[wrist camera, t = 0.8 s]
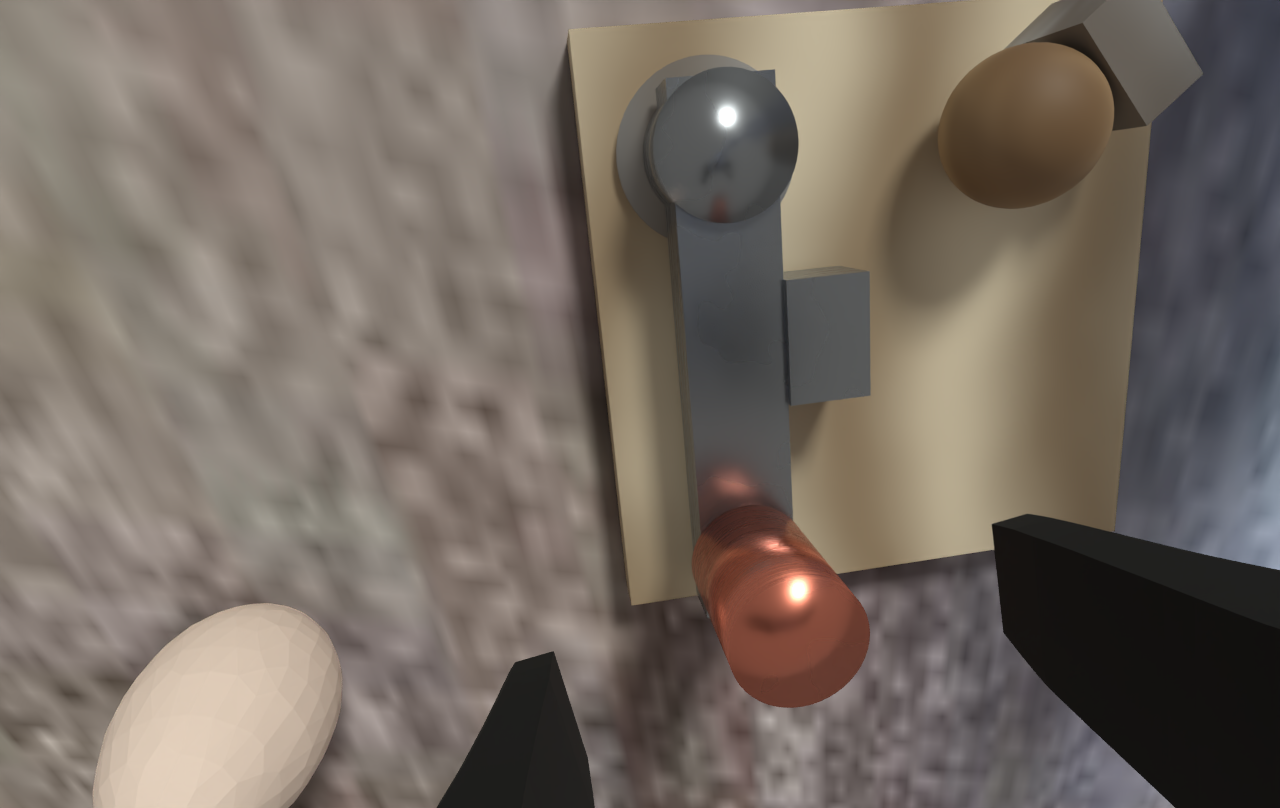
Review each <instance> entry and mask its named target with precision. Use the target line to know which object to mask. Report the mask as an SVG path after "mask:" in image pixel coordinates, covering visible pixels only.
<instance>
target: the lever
mask: <svg viewBox="0 0 1280 808" xmlns="http://www.w3.org/2000/svg"><path fill="white" fill-rule="evenodd" d="M655 90H656V102H657V110H656V111H655V113H654V114H653V116H652V118H651V120H650V122H649V124H648V127H647V130H646V133H645V138H644V144H643V162H644V169H645V172H646V176H647V179H648V181H649V183H650V186H651V188H652V189H653V191H654V193H655V194H656V196H657V197H658V198H659V199H660V201H661V202H662V203H663V204H664V205H665V213H666V225H667V237H668V250H669V262H670V274H671V287H672V299H673V311H674V323H675V336H676V348H677V360H678V373H679V385H680V397H681V409H682V422H683V434H684V446H685V459H686V471H687V483H688V495H689V508H690V520H691V532H692V545H693V555H692V573H693V577H694V580H695V583H696V592H697V594H698V597H699V599H700V601H701V604H702V606H703V609H704V611H705V614H706V616H707V618H710V619H711V622H712V624H713V626H714V629H715V631H716V634H717V636H718V638H719V641H720V643H721V646H722V648H723V650H724V653H725V655H726V658H727V660H728V662H729V665H730V667H731V670H732V672H733V674H734V676H735V678H736V680H737V682H738V683H739V685H740V686H741V687H742V688H743V689H744V690H745V691H746V692H747V693H748V694H749V695H751V696H752V697H753V698H755V699H757V700H759V701H761V702H763V703H766V704H768V705H772V706H777V707H787V708H794V707H802V706H807V705H811V704H814V703H817V702H820V701H822V700H824V699H826V698H828V697H830V696H832V695H833V694H835V693H836V692H838V691H839V690H840V689H842V688H843V687H844V686H845V685H846V684H847V683H848V682H849V681H850V680H851V679H852V678H853V677H854V675H855V674H856V673H857V671H858V670H859V668H860V667H861V665H862V663H863V661H864V659H865V656H866V653H867V650H868V646H869V638H870V629H869V622H868V618H867V615H866V613H865V610H864V608H863V607H862V605H861V603H860V602H859V601H858V599H857V598H856V597H855V596H854V595H853V593H852V592H851V591H850V590H849V588H848V587H847V586H846V585H845V584H844V582H843V581H842V580H841V579H840V577H839V576H838V575H837V574H836V573H835V571H834V570H833V569H832V568H831V566H830V565H829V564H828V563H827V562H826V560H825V559H824V558H823V557H822V555H821V554H820V553H819V552H818V550H817V549H816V548H815V547H814V546H813V544H812V543H811V542H810V541H809V539H808V538H807V537H806V536H805V535H804V533H803V532H802V531H801V530H800V528H799V527H798V526H797V525H796V524H795V522H794V521H793V505H792V480H791V455H790V430H789V405H791V406H794V405H802V404H809V403H817V402H825V401H833V400H841V399H848V398H856V397H864V396H871V375H870V271H866V270H860V269H855V268H849V267H844V266H832V267H822V268H813V269H804V270H795V271H786V272H783V254H782V229H781V204H780V196H781V194H782V193H783V191H784V190H785V189H786V187H787V185H788V183H789V181H790V180H791V177H792V175H793V172H794V169H795V166H796V162H797V157H798V146H799V139H798V129H797V125H796V120H795V117H794V115H793V112H792V110H791V108H790V106H789V104H788V102H787V100H786V99H785V97H784V96H783V94H782V93H781V92H780V91H779V90H778V88H777V87H776V79H775V69H772V70H760V71H750V70H747V69H744V68H738V67H717V68H712V69H709V70H705V71H703V72H700V73H698V74H696V75H694V76H685V77H672V78H665V79H664V80H663V81H662V82H661V83H660V84H659V86H658V87H657V88H656V89H655ZM788 404H789V405H788Z"/></svg>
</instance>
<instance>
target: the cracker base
mask: <svg viewBox="0 0 1280 808" xmlns="http://www.w3.org/2000/svg"><path fill="white" fill-rule="evenodd" d="M1162 1H1163V0H971V1H957V2H943V3H929V4H915V5H901V6H887V7H873V8H860V9H846V10H832V11H818V12H804V13H790V14H776V15H762V16H748V17H734V18H720V19H706V20H692V21H678V22H664V23H650V24H637V25H623V26H609V27H595V28H581V29H569V31H568V38H567V46H568V55H569V64H570V73H571V82H572V91H573V100H574V109H575V118H576V127H577V137H578V146H579V155H580V164H581V173H582V182H583V191H584V200H585V209H586V218H587V227H588V236H589V246H590V255H591V264H592V273H593V282H594V291H595V300H596V309H597V318H598V327H599V336H600V346H601V355H602V364H603V373H604V382H605V391H606V400H607V409H608V418H609V427H610V436H611V445H612V455H613V464H614V473H615V482H616V491H617V500H618V509H619V518H620V527H621V536H622V545H623V554H624V564H625V573H626V582H627V588H628V592H629V596H630V601H631V605H639V604H645V603H652V602H658V601H665V600H671V599H677V598H684V597H690V596H697V595H698V594H697V592H696V583H695V580H694V577H693V573H692V555H693V545H692V532H691V520H690V508H689V495H688V483H687V471H686V459H685V446H684V434H683V422H682V409H681V397H680V385H679V373H678V360H677V348H676V336H675V323H674V311H673V299H672V287H671V274H670V262H669V250H668V237H667V225H666V213H665V205H664V204H663V203H662V202H661V201H660V199H659V198H658V197H657V196H656V194H655V193H654V191H653V189H652V188H651V186H650V183H649V181H648V179H647V176H646V172H645V169H644V162H643V144H644V138H645V133H646V130H647V127H648V124H649V122H650V120H651V118H652V116H653V114H654V113H655V111H656V110H657V102H656V90H655V89H656V88H657V87H658V86H659V84H660V83H661V82H662V81H663V80H664V79H665V78H672V77H685V76H694V75H696V74H698V73H700V72H703V71H705V70H709V69H712V68H717V67H738V68H744V69H747V70H750V71H760V70H772V69H775V79H776V87H777V88H778V90H779V91H780V92H781V93H782V94H783V96H784V97H785V99H786V100H787V102H788V104H789V106H790V108H791V110H792V112H793V115H794V117H795V120H796V125H797V129H798V139H799V146H798V157H797V162H796V166H795V169H794V172H793V175H792V177H791V180H790V181H789V183H788V185H787V187H786V189H785V190H784V191H783V193H782V194H781V196H780V204H781V229H782V254H783V272H786V271H795V270H804V269H813V268H822V267H832V266H844V267H849V268H855V269H860V270H866V271H870V375H871V396H864V397H856V398H848V399H841V400H833V401H825V402H817V403H809V404H802V405H794V406H791V405H789V404H788V405H789V430H790V455H791V480H792V505H793V521H794V522H795V524H796V525H797V526H798V527H799V528H800V530H801V531H802V532H803V533H804V535H805V536H806V537H807V538H808V539H809V541H810V542H811V543H812V544H813V546H814V547H815V548H816V549H817V550H818V552H819V553H820V554H821V555H822V557H823V558H824V559H825V560H826V562H827V563H828V564H829V565H830V566H831V568H832V569H833V570H834V571H835V573H836V574H839V573H846V572H852V571H859V570H865V569H872V568H878V567H885V566H891V565H898V564H904V563H911V562H917V561H923V560H930V559H936V558H943V557H949V556H956V555H962V554H969V553H975V552H982V551H988V550H994V541H993V532H992V524H993V523H997V522H1000V521H1004V520H1007V519H1010V518H1014V517H1017V516H1021V515H1024V514H1033V515H1039V516H1045V517H1050V518H1055V519H1059V520H1064V521H1068V522H1072V523H1077V524H1081V525H1085V526H1089V527H1093V528H1097V529H1101V530H1105V531H1109V532H1111V531H1115V520H1116V509H1117V498H1118V487H1119V476H1120V465H1121V454H1122V443H1123V432H1124V421H1125V410H1126V399H1127V388H1128V377H1129V366H1130V355H1131V344H1132V333H1133V321H1134V310H1135V299H1136V288H1137V277H1138V266H1139V255H1140V244H1141V233H1142V222H1143V211H1144V200H1145V189H1146V178H1147V167H1148V156H1149V145H1150V134H1151V123H1152V121H1153V120H1154V119H1155V118H1156V117H1157V116H1159V115H1160V114H1161V113H1162V112H1163V111H1164V110H1165V109H1166V108H1167V107H1168V106H1169V105H1170V104H1171V103H1173V102H1174V101H1175V100H1176V99H1177V98H1178V97H1179V96H1180V95H1181V94H1182V93H1183V92H1184V91H1186V90H1187V89H1188V88H1189V87H1190V86H1191V85H1192V84H1193V83H1194V82H1195V81H1196V80H1197V79H1199V78H1200V77H1201V76H1202V75H1203V72H1202V70H1201V69H1200V67H1199V65H1198V63H1197V62H1196V60H1195V58H1194V57H1193V55H1192V53H1191V51H1190V50H1189V48H1188V46H1187V45H1186V43H1185V41H1184V39H1183V38H1182V36H1181V34H1180V33H1179V31H1178V29H1177V27H1176V26H1175V24H1174V22H1173V20H1172V19H1171V17H1170V15H1169V14H1168V12H1167V10H1166V8H1165V7H1164V5H1163V3H1162Z"/></svg>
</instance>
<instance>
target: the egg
mask: <svg viewBox="0 0 1280 808" xmlns="http://www.w3.org/2000/svg"><path fill="white" fill-rule="evenodd" d="M342 681H343V679H342V671H341V666H340V662H339V659H338V656H337V653H336V651H335V649H334V646H333V644H332V642H331V640H330V638H329V636H328V634H327V633H326V632H325V631H324V630H323V629H322V628H321V627H320V626H319V625H318V624H317V623H316V622H315V621H314V620H313V619H311V618H310V617H309V616H307V615H306V614H305V613H303V612H301V611H298V610H296V609H293V608H291V607H288V606H283V605H277V604H271V603H262V604H249V605H243V606H238V607H234V608H231V609H228V610H224V611H221V612H217V613H216V614H214V615H212V616H210V617H208V618H206V619H204V620H202V621H200V622H198V623H196V624H194V625H192V626H190V627H189V628H188V629H186V630H185V631H184V632H182V633H181V634H180V635H178V636H177V637H176V638H175V639H173V640H172V641H171V642H169V643H168V644H167V645H166V646H165V647H164V648H163V649H162V650H161V651H160V652H159V653H158V654H157V655H156V656H155V657H154V658H153V659H152V661H151V662H150V663H149V664H148V665H147V666H146V668H145V669H144V670H143V671H142V672H141V674H140V675H139V676H138V677H137V678H136V680H135V681H134V683H133V684H132V685H131V687H130V688H129V690H128V691H127V693H126V694H125V696H124V697H123V699H122V701H121V703H120V705H119V707H118V708H117V710H116V712H115V714H114V716H113V718H112V720H111V722H110V725H109V727H108V729H107V731H106V733H105V736H104V740H103V744H102V748H101V752H100V756H99V760H98V764H97V768H96V774H95V781H94V787H93V804H94V808H289V807H290V806H291V805H292V804H293V803H294V802H295V800H296V799H297V798H298V796H299V795H300V794H301V792H302V791H303V790H304V788H305V787H306V785H307V784H308V782H309V781H310V779H311V777H312V776H313V774H314V772H315V771H316V769H317V767H318V766H319V764H320V762H321V761H322V759H323V757H324V755H325V752H326V750H327V748H328V746H329V743H330V740H331V738H332V735H333V733H334V730H335V728H336V725H337V721H338V718H339V714H340V710H341V699H342Z"/></svg>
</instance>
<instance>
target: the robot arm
mask: <svg viewBox="0 0 1280 808" xmlns="http://www.w3.org/2000/svg"><path fill="white" fill-rule="evenodd" d="M992 532H993V541H994V550H995V559H996V569H997V578H998V587H999V596H1000V605H1001V614H1002V623H1003V632H1004V634H1005V635H1006V636H1007V638H1008V639H1009V640H1010V641H1011V643H1012V644H1013V645H1014V647H1015V648H1016V649H1017V650H1018V652H1019V653H1020V654H1021V655H1022V657H1023V658H1024V659H1025V660H1026V662H1027V663H1028V664H1029V665H1030V666H1031V668H1032V669H1033V670H1034V671H1035V672H1036V674H1037V675H1038V676H1039V677H1040V678H1041V679H1042V681H1043V682H1044V683H1045V684H1046V685H1047V686H1048V687H1049V688H1050V689H1051V690H1052V691H1053V692H1054V693H1055V694H1056V695H1057V696H1058V697H1059V698H1060V699H1061V700H1062V701H1063V702H1064V703H1065V704H1066V705H1067V706H1068V707H1069V708H1070V709H1071V710H1072V711H1073V712H1075V713H1076V714H1077V715H1078V716H1079V717H1080V718H1081V719H1082V720H1083V721H1084V722H1085V723H1086V724H1087V725H1088V726H1089V727H1090V728H1091V729H1092V730H1093V731H1094V732H1096V733H1097V734H1098V735H1099V736H1100V737H1101V738H1102V739H1103V740H1104V741H1105V742H1106V743H1107V744H1108V745H1109V746H1110V747H1111V748H1113V749H1114V750H1115V751H1116V752H1117V753H1118V754H1119V755H1120V756H1121V757H1122V758H1123V759H1124V760H1125V761H1126V762H1127V763H1128V764H1130V765H1131V766H1132V767H1133V768H1134V769H1135V770H1136V771H1137V772H1138V773H1139V774H1140V775H1141V776H1142V777H1143V778H1144V779H1145V780H1147V781H1148V782H1149V783H1150V784H1151V785H1152V786H1153V787H1154V788H1155V789H1156V790H1157V791H1158V792H1159V793H1160V794H1161V795H1162V796H1164V797H1165V798H1166V799H1167V800H1168V801H1169V802H1170V803H1171V804H1172V805H1173V806H1174V807H1175V808H1280V570H1276V569H1271V568H1266V567H1261V566H1256V565H1251V564H1246V563H1241V562H1237V561H1232V560H1227V559H1222V558H1217V557H1213V556H1208V555H1204V554H1199V553H1195V552H1191V551H1186V550H1182V549H1178V548H1174V547H1169V546H1165V545H1161V544H1157V543H1153V542H1149V541H1145V540H1141V539H1137V538H1133V537H1129V536H1125V535H1121V534H1117V533H1113V532H1109V531H1105V530H1101V529H1097V528H1093V527H1089V526H1085V525H1081V524H1077V523H1072V522H1068V521H1064V520H1059V519H1055V518H1050V517H1045V516H1039V515H1033V514H1024V515H1021V516H1017V517H1014V518H1010V519H1007V520H1004V521H1000V522H997V523H993V524H992ZM437 808H595V806H594V799H593V791H592V784H591V777H590V770H589V764H588V757H587V754H586V751H585V748H584V745H583V742H582V739H581V735H580V732H579V729H578V726H577V723H576V720H575V717H574V713H573V710H572V707H571V704H570V701H569V698H568V695H567V692H566V688H565V685H564V682H563V679H562V676H561V673H560V670H559V666H558V663H557V660H556V657H555V654H554V651H553V652H549V653H546V654H542V655H539V656H535V657H532V658H528V659H525V660H522V661H518V662H515V663H514V665H513V667H512V668H511V670H510V672H509V674H508V676H507V678H506V680H505V682H504V684H503V686H502V688H501V690H500V693H499V695H498V697H497V699H496V701H495V703H494V705H493V707H492V709H491V711H490V713H489V715H488V717H487V719H486V721H485V723H484V725H483V727H482V729H481V731H480V733H479V734H478V736H477V738H476V740H475V742H474V744H473V746H472V748H471V749H470V751H469V753H468V755H467V757H466V759H465V761H464V762H463V764H462V766H461V768H460V770H459V771H458V773H457V775H456V777H455V778H454V780H453V782H452V783H451V785H450V787H449V788H448V790H447V791H446V793H445V795H444V796H443V798H442V800H441V801H440V803H439V805H438V806H437Z"/></svg>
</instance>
